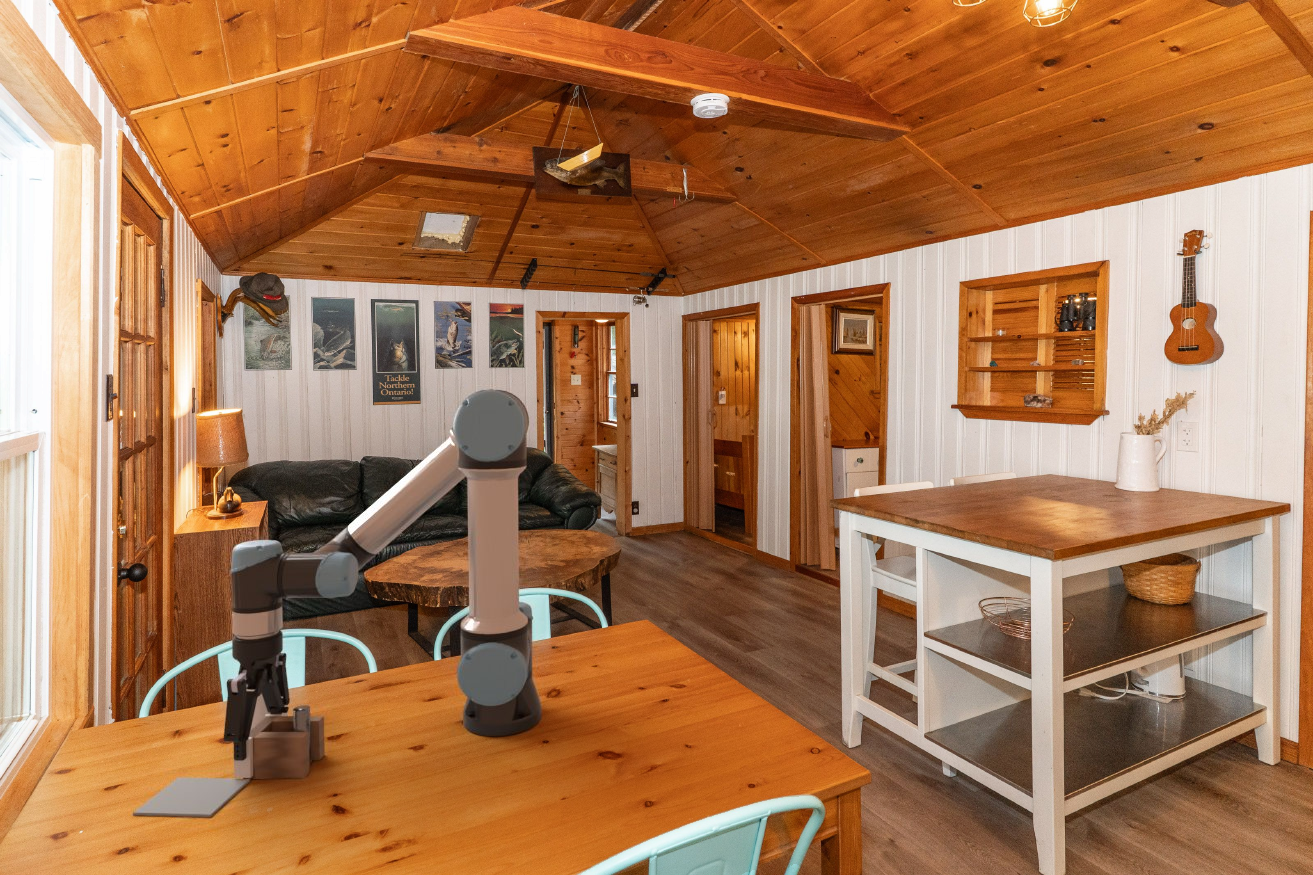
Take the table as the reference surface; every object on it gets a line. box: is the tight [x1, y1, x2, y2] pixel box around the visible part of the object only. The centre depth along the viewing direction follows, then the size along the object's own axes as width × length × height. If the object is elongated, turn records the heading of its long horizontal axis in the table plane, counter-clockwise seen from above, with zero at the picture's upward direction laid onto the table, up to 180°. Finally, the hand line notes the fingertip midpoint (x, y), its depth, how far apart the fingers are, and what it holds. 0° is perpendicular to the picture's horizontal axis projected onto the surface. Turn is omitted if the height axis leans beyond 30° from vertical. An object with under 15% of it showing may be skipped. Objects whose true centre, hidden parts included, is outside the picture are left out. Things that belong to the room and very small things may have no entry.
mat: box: [132, 776, 251, 818], centre depth 114 cm, size 12×10×1 cm
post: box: [292, 704, 312, 767], centre depth 124 cm, size 3×3×10 cm
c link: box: [242, 715, 326, 780], centre depth 124 cm, size 10×8×7 cm
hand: (259, 763), depth 124 cm, fingers closed on c link, 8 cm apart
